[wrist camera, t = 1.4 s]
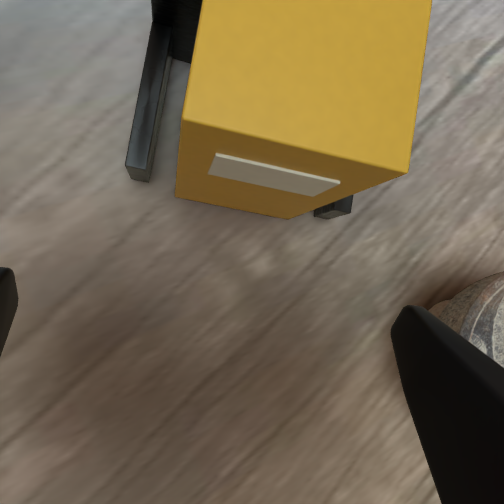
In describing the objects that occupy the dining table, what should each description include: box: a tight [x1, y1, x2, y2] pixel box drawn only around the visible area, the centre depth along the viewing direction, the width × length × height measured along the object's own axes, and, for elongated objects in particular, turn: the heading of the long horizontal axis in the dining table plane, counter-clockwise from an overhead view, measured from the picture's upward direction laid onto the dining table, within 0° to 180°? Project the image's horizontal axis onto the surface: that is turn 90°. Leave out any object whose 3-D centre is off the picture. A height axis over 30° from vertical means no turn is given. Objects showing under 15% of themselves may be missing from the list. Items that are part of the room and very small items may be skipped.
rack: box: [125, 0, 353, 219], centre depth 19 cm, size 8×12×8 cm
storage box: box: [175, 0, 432, 219], centre depth 17 cm, size 8×7×12 cm
